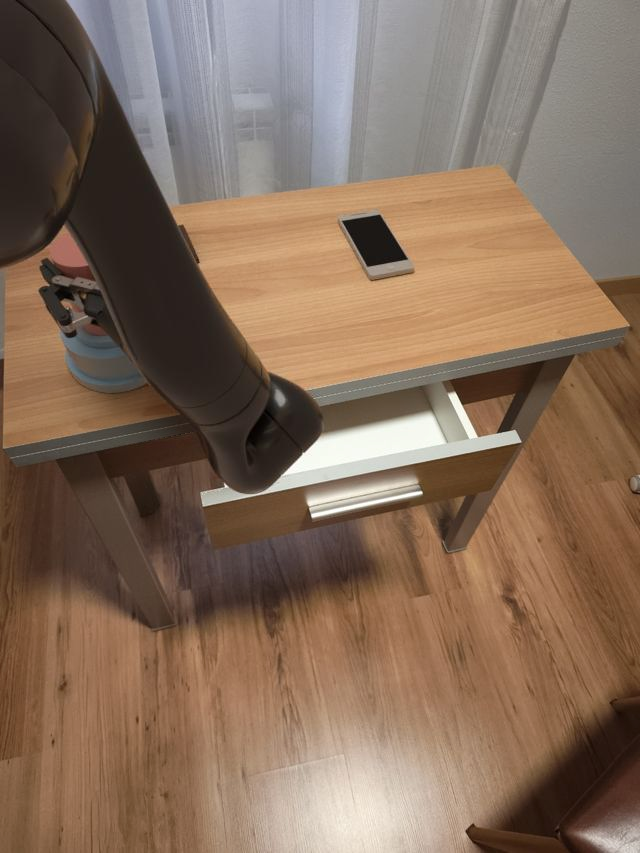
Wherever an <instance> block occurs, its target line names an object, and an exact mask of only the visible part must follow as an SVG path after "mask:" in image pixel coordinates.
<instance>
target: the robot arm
mask: <svg viewBox="0 0 640 853" xmlns="http://www.w3.org/2000/svg"><path fill="white" fill-rule="evenodd" d="M178 225H179V224H178V223H177V221H176V219H175V216H174V215H173V213H172V210H171V209H170V206H169V205H168V202H167V200H166V198H165V196H164V194H163V192H162V190H161V188H160V186H159V184H158V182H157V179H156V177H155V176H154V173H153V171H152V169H151V166H150V165H149V163H148V161H147V159H146V156H145V155H144V152H143V150H142V148H141V146H140V144H139V141H138V140H137V137H136V135H135V133H134V130H133V128H132V126H131V124H130V122H129V120H128V117H127V115H126V112H125V110H124V108H123V105H122V103H121V101H120V99H119V95H118V94H117V91H116V90H115V87H114V85H113V83H112V81H111V78H110V76H109V74H108V73H107V70H106V68H105V66H104V63H103V61H102V59H101V58H100V55H99V54H98V52H97V50H96V48H95V46H94V43H93V42H92V40H91V38H90V36H89V35H88V33H87V31H86V29H85V27H84V25H83V24H82V22H81V20H80V18H79V17H78V15H77V14H76V12H75V11H74V9H73V8H72V6H71V5H70V3H69V2H68V1H67V0H0V270H3V269H6V268H10V267H13V266H15V265H18V264H20V263H23V262H24V261H26V260H28V259H30V258H32V257H34V256H36V255H38V254H39V253H40V252H42V251H44V250H45V249H46V248H47V247H48V246H49V245H50V244H52V242H53V241H54V240H56V238H57V236H58V235H59V234H60V232H61V231H62V229H63V227H64V228H65V229H66V231H67V233H70V235H71V236H72V238H73V239H74V241H75V243H76V244H77V246H78V248H79V250H80V251H81V253H82V255H83V257H84V258H85V260H86V262H87V264H88V266H89V267H90V270H91V272H92V274H93V276H94V278H95V279H94V280H88V279H85V278H81V277H76V278H75V279H72V278H68V277H65V276H63V273H62V272H61V271H60V270H59V269H58V268H57V267H56V266H55V265H54V263H53V261H52V260H50V259H49V258H48V257H45V258H43V259H40V262H41V265H39V266H38V268H39V271H40V273H41V276H42V278H43V280H44V281H45V282H46V283H47V284H48V285H42V286H41V287H39V288H38V293H39V296H40V297H41V299H42V300H43V303H44V305H45V308H46V310H47V311H48V313H49V314H50V316H51V318H52V319H53V320H54V321H55V323H56V325H57V326H58V328H59V329H61V330H62V332H63V333H64V335H65V336H66V337H67V338H73V337H75V336H76V335H77V330H76V329H77V328H80V327H82V326H84V325H87V324H89V323H90V324H92V325H94V326H98V327H100V328H102V329H103V330H104V332H105V333H106V334H107V335H108V336H109V337H110V338H111V339H112V340H113V341H114V342H115V343H116V344H117V345H118V346H119V347H120V348H121V349H122V351H123V352H124V353H125V354H126V355H127V356H128V357H129V359H130V360H131V361H132V363H133V364H134V365H135V366H136V368H137V369H138V371H139V372H140V373H141V375H142V376H143V377H144V379H145V380H146V382H147V384H148V385H149V386H150V387H151V389H152V390H153V391H154V392H155V393H156V394H157V395H158V396H160V397H161V398H162V399H163V400H164V401H165V402H166V403H167V404H168V405H169V406H171V407H172V408H173V410H174V411H176V412H177V413H178V414H179V415H180V416H181V417H183V418H184V419H185V421H187V423H188V424H189V425H190V426H191V427H192V428H193V429H194V431H195V433H196V435H197V437H198V440H199V442H200V445H201V447H202V450H203V453H204V455H205V457H206V459H207V461H208V463H209V464H210V467H211V469H212V471H213V472H214V473H215V474H216V476H217V477H218V478H219V480H220V481H221V482H222V483H223V484H224V485H225V486H226V487H228V488H229V489H230V490H232V491H234V492H236V493H239V494H242V495H243V494H244V495H256V494H260V493H263V492H265V491H267V490H268V489H269V488H270V487H272V486H273V485H274V484H275V483H276V482H277V481H278V480H280V479H281V477H282V476H283V475H284V474H286V472H287V471H288V470H289V469H290V468H292V466H293V465H294V464H295V463H296V462H297V461H298V460H299V459H300V458H301V457H302V456H303V454H306V453H307V451H308V450H309V449H310V448H312V446H313V445H314V444H315V443H317V441H318V440H319V438H321V436H322V433H323V431H324V427H325V421H324V420H325V419H324V415H323V412H322V408H321V406H320V405H319V403H318V402H317V400H316V399H315V398H314V397H313V395H311V393H310V392H308V391H307V390H306V389H304V388H303V387H302V386H300V385H298V384H297V383H295V382H293V381H291V380H290V379H287V378H285V377H283V376H280V375H278V374H276V373H274V372H271V371H268V370H267V368H266V367H265V365H264V364H263V362H262V361H261V359H260V358H259V356H258V355H257V354H256V352H255V351H254V349H253V348H252V347H251V345H250V344H249V342H248V340H246V338H245V336H244V335H243V334H242V332H241V331H240V329H239V327H237V325H236V323H235V322H234V321H233V320H232V318H231V317H230V315H229V314H228V312H227V311H226V309H225V308H224V306H223V305H222V303H221V302H220V300H219V299H218V297H217V296H216V294H215V292H214V290H213V289H212V287H211V285H210V283H209V282H208V280H207V278H206V276H205V274H204V273H203V271H202V270H201V268H200V265H199V263H197V262H196V260H195V258H194V256H193V254H192V252H191V251H190V249H189V247H188V245H187V243H186V241H185V239H184V237H183V235H182V233H181V231H180V229H179V227H178ZM62 301H63V302H65V303H66V302H67V303H70V304H71V303H73V304H76V305H77V306H78V307H79V308H80V309H83V310H84V311H83V312H76V311H75V310H74V309H72V308H71V306H69V305H66V306H64V304H63V302H62Z"/></svg>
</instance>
